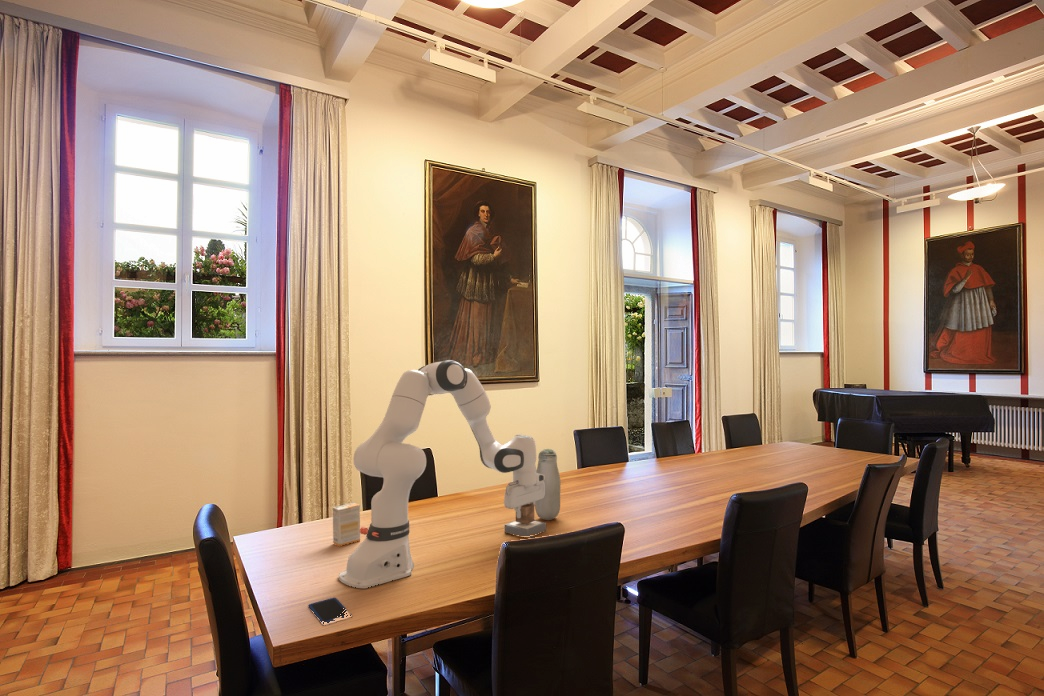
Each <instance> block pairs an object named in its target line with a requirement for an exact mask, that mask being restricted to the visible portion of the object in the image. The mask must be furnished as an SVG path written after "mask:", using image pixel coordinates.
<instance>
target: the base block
mask: <svg viewBox="0 0 1044 696" xmlns="http://www.w3.org/2000/svg"><path fill="white" fill-rule="evenodd" d="M543 531H545V532H547V522H543V521H540V520H539V521H538V520H535V521H533V522H530V523H528V524H523V523H519V522H516V520H513V521H510V522H508V523H505V524H504V533H505V532H506V533H505V534H507V533H510V534H509V535H511V534H514V535H513V536H515V535H519V536H530V535H535V534H538V533H540V532H543ZM543 533H544V532H543ZM540 534H541V533H540ZM538 535H539V534H538ZM519 536H518V537H519ZM532 537H534V536H530V537H524V539H526V538H528V539H530V538H532Z"/></svg>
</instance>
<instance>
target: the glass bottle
mask: <svg viewBox="0 0 1044 696" xmlns="http://www.w3.org/2000/svg"><path fill="white" fill-rule="evenodd" d="M537 459H538V460H537V467H536V473H538V474H543V475H545V480H544V483H545V496H544V498H543V499H540V500H537V501H535V506H534V511H535V513H536V516H537V517H538V518H540V519H541V520H545V521H551V520H554V519H555V518H556V517H558V515H559V514H560V510H561V477H560V471H559V469H558V462H557V461H558V460H557V459H558V456H557V453H556V451H555V450H554V449H551V448H546V449H545V448H544V449H542V450H541V451H539V453H538V458H537Z"/></svg>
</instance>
